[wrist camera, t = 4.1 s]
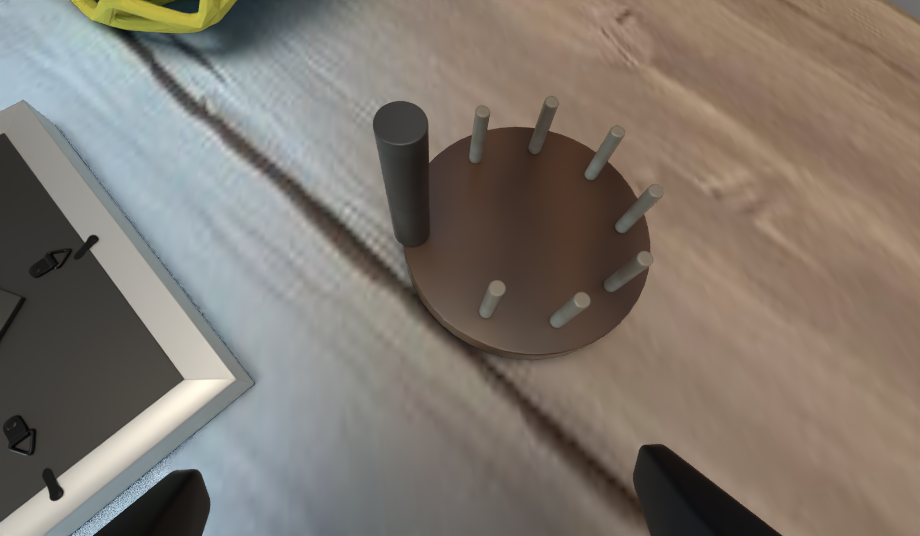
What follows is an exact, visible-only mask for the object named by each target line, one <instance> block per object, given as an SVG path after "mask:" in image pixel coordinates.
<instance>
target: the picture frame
mask: <svg viewBox="0 0 920 536" xmlns="http://www.w3.org/2000/svg"><path fill="white" fill-rule="evenodd" d="M252 385H254V382H253V381H252V379H251V378H250V377H249V375H248V374H247V373H246V371H245V370H244V369H243V368H242V366H241V365H240V364H239V362H238V361H237V360H236V359H235V357H234V356H233V355H232V353H231V352H230V351H229V349H228V348H227V347H226V346H225V344H224V343H223V342H222V340H221V339H220V338H219V337H218V335H217V334H216V333H215V331H214V330H213V329H212V328H211V326H210V325H209V324H208V322H207V321H206V320H205V318H204V317H203V316H202V315H201V313H200V312H199V311H198V309H197V308H196V307H195V306H194V304H193V303H192V302H191V300H190V299H189V298H188V296H187V295H186V294H185V293H184V291H183V290H182V289H181V287H180V286H179V285H178V284H177V282H176V281H175V280H174V278H173V277H172V276H171V275H170V273H169V272H168V271H167V269H166V268H165V267H164V265H163V264H162V263H161V262H160V260H159V259H158V258H157V256H156V255H155V254H154V253H153V251H152V250H151V249H150V247H149V246H148V245H147V243H146V242H145V241H144V240H143V238H142V237H141V236H140V234H139V233H138V232H137V231H136V229H135V228H134V227H133V225H132V224H131V223H130V222H129V220H128V219H127V218H126V216H125V215H124V214H123V212H122V211H121V210H120V209H119V207H118V206H117V205H116V203H115V202H114V201H113V200H112V198H111V197H110V196H109V194H108V193H107V192H106V190H105V189H104V188H103V187H102V185H101V184H100V183H99V181H98V180H97V179H96V178H95V176H94V175H93V174H92V172H91V171H90V170H89V168H88V167H87V166H86V165H85V163H84V162H83V161H82V159H81V158H80V157H79V156H78V154H77V153H76V152H75V150H74V149H73V148H72V147H71V145H70V144H69V143H68V141H67V140H66V139H65V137H64V136H63V135H62V134H61V132H60V131H59V130H58V128H57V127H56V126H55V125H54V123H52V122H51V121H50V120H49V119H47V118H46V117H45V116H43V115H42V114H41V113H40V112H38V111H37V110H36V109H35V108H33V107H32V106H31V105H30V104H28V103H27V102H26V101H25V100H22V101H20V102H18V103H16V104H14V105H12V106H10V107H8V108H6V109H4V110H2V111H0V536H70V535H71V534H72V533H73V532H75V531H76V530H77V529H78V528H80V527H81V526H82V525H83V524H84V523H86V522H87V521H88V520H89V519H90V518H92V517H93V516H94V515H95V514H97V513H98V512H99V511H100V510H101V509H103V508H104V507H105V506H106V505H108V504H109V503H110V502H111V501H112V500H114V499H115V498H116V497H117V496H119V495H120V494H121V493H122V492H123V491H125V490H126V489H127V488H128V487H129V486H131V485H132V484H133V483H134V482H136V481H137V480H138V479H139V478H140V477H142V476H143V475H144V474H145V473H147V472H148V471H149V470H150V469H151V468H153V467H154V466H155V465H156V464H157V463H159V462H160V461H161V460H162V459H164V458H165V457H166V456H167V455H168V454H170V453H171V452H172V451H173V450H175V449H176V448H177V447H178V446H179V445H181V444H182V443H183V442H184V441H185V440H187V439H188V438H189V437H190V436H192V435H193V434H194V433H195V432H196V431H198V430H199V429H200V428H201V427H203V426H204V425H205V424H206V423H207V422H209V421H210V420H211V419H212V418H214V417H215V416H216V415H217V414H218V413H220V412H221V411H222V410H223V409H224V408H226V407H227V406H228V405H229V404H231V403H232V402H233V401H234V400H235V399H237V398H238V397H239V396H240V395H242V394H243V393H244V392H245V391H246V390H248V389H249V388H250V387H251V386H252Z"/></svg>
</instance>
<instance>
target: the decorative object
mask: <svg viewBox="0 0 920 536" xmlns="http://www.w3.org/2000/svg"><path fill="white" fill-rule="evenodd" d="M71 1H72V2H73V3H74V4H75V5H76V6H77V7H78V8H79V9H80V10H81V11H82V12H83V13H84V14H85V15H86V16H87V17H88V18H89V19H90V20H93V21H96V22H99V23H103V24H106V25H109V26H112V27H116V28H120V29H124V30H133V31H144V32H162V33H196V32H199V31H202V30H205V29H206V28H207V27H210V26H212V25H214V24H216V23H218V22H219V21H220V20H221V19H222V18H223V17H224V16H225V14H226V13H227V12H228V11H229V10H230V9H231V7H232V6H233V5H234V4H235V2H236V1H237V0H200V4H199V11H198V13H191V14H189V13H182V12H179V11H175V10H172V9H168V8H165V7H161V5H164V4H167V3H170V2H173V1H175V0H99V2H96V1H94V0H71ZM134 15H137V16H134ZM138 16H140V17H138Z"/></svg>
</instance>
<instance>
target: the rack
mask: <svg viewBox="0 0 920 536" xmlns="http://www.w3.org/2000/svg"><path fill="white" fill-rule="evenodd" d="M558 105H559V101H558V99H557V98H556V97H554V96H549V97H547V98H546V99H545V101H544V104H543V107H542V109H541V112H540V115H539V118H538V121H537V124H536V127H535V128H526V127H507V128H497V129H492V130H487V127H488V122H489V117H490V110H489V108H488V107H486V106H479V107H477V109H476V110H475V117H474V125H473V132H472V135H471V136H468V137H466V138H464V139H461V140H459V141H458V142H456V143H454V144H452V145H451V146H449V147H448V148H446V149H445V150H444V151H442V152H441V153H440V154H438V155H437V156H436V157H435V158H434V159H433V160H432V161H431V162H430V163H429V141H428V119H427V117H426V115H425V113H424V112H423V110H422V109H421V108H419V107H418V106H417V105H415V104H412V103H409V102H405V101H396V102H391V103H388V104H386V105H384V106H383V107H381V108H380V109H379V110H378V112H377V113H376V115H375V117H374V120H373V129H374V134H375V139H376V144H377V149H378V154H379V159H380V164H381V169H382V174H383V179H384V184H385V189H386V194H387V199H388V204H389V209H390V214H391V219H392V224H393V229H394V234H395V237H396V239H397V240H398V241H399V242H400V243H401V244H402V245H403V248H404V254H405V259H406V264H407V268H408V272H409V275H410V278H411V280H412V283H413V286H414V288H415V290H416V291H417V293H418V295H419V297H420V299H421V301H422V302H423V303H424V305H425V306H426V307H427V309H428V310H429V312H430V313H431V314H432V315H433V316H434V317H435V318H436V319H437V320H438V321H439V322H440V323H441V325H443V326H444V327H445V328H446V329H447V330H449V331H450V332H451V333H452V334H454V335H455V336H457V337H458V338H460V339H461V340H463V341H465V342H466V343H468V344H470V345H472V346H474V347H476V348H479V349H481V350H483V351H485V352H489V353H492V354H495V355H499V356H502V357H509V358H515V359H534V360H536V359H545V358H553V357H557V356H561V355H565V354H568V353H571V352H573V351H576V350H578V349H581V348H583V347H585V346H587V345H589V344H591V343H593V342H594V341H596V340H598V339H600V338H601V337H603V336H605V335H606V334H607V333H609V332H610V331H611V330H612V329H614V328H615V327H616V326H617V325H619V324H620V322H621V321H622V320H623V319H624V318H625V317H626V316H627V315H628V314H629V312H630V311H631V309H632V308H633V306H634V305H635V303H636V302H637V300H638V298H639V296H640V294H641V292H642V290H643V287H644V285H645V281H646V278H647V274H648V270H649V266H650V265H651V264H652V263H653V257H652V255H651V254H650V238H649V232H648V226H647V223H646V219H645V216H644V214H645V213H646V212H647V211H648V210H649V209H650V208H651V207H652V206H653V205H654V204H655V203H656V202H657V201H658V200H659V199H660V198H661V197H662V196H663V194H664V190H663V188H662V187H661V186H660V185H658V184H653V185H651V186H649V188H648V189H647V190H646V191H645V192H644V193H643V194H642V195H641V196H640V197H639V199H637V197H636V196H635V194H634V192H633V191H632V189H631V187H630V186H629V185H628V183H627V182H626V181H625V179H624V178H623V177H622V175H621V174H620V173H619V172H618V171H617V170H616V169H615V168H614V167H613V166H612V165H611V164H610V163H609V162H608V159H609V158H610V156H611V155H612V153H613V152H614V150H615V149H616V147H617V146H618V144H619V143H620V141H621V140H622V138H623V137H624V135H625V130H624V128H623V127H621V126H619V125H616V126H613V127H612V128H611V130H610V131H609V133H608V134H607V136H606V138H605V139H604V141H603V143H602V144H601V146H600V148H599V149H598V151H597V153H596V152H595V151H593V150H592V149H590V148H589V147H587V146H585V145H583V144H581V143H579V142H577V141H575V140H574V139H571V138H568V137H566V136H563V135H561V134H558V133H554V132H550V131H548V130H549V128H550V125H551V123H552V120H553V118H554V115H555V113H556V110H557V108H558Z"/></svg>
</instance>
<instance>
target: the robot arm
mask: <svg viewBox="0 0 920 536" xmlns="http://www.w3.org/2000/svg"><path fill="white" fill-rule="evenodd" d="M633 483H634V487H635V490H636V493H637V496H638V499H639V502H640V505H641V508H642V511H643V514H644V517H645V520H646V523H647V526H648V529H649V532H650V535H651V536H782V535H781V534H779V533H778V532H777V531H776V530H774V529H773V528H772V527H770V526H769V525H768V524H766V523H765V522H764V521H763V520H761V519H760V518H759V517H757V516H756V515H755V514H753V513H752V512H751V511H750V510H748V509H747V508H746V507H744V506H743V505H742V504H740V503H739V502H738V501H737V500H735V499H734V498H733V497H731V496H730V495H729V494H728V493H726V492H725V491H724V490H722V489H721V488H720V487H718V486H717V485H716V484H715V483H713V482H712V481H711V480H709V479H708V478H707V477H705V476H704V475H703V474H702V473H700V472H699V471H698V470H696V469H695V468H694V467H692V466H691V465H690V464H689V463H687V462H686V461H685V460H683V459H682V458H681V457H679V456H678V455H677V454H676V453H674V452H673V451H672V450H670V449H669V448H668V447H666V446H664V445H662V444H651V445H643V446H642V447H641V448H640V450H639V453H638V457H637V461H636V465H635V469H634V473H633ZM209 511H210V497H209V495H208V492H207V489H206V486H205V483H204V480H203V477H202V475H201V473H200V472H199V471H198V470H196V469H188V470H176V471H173V472H171V473H169V474H168V475H167V476H165V477H164V478H163V479H162V480H161V481H159V482H158V483H157V484H156V485H154V486H153V487H152V488H151V489H150V490H148V491H147V492H146V493H145V494H143V495H142V496H141V497H140V498H139V499H137V500H136V501H135V502H134V503H132V504H131V505H130V506H129V507H127V508H126V509H125V510H124V511H123V512H121V513H120V514H119V515H118V516H116V517H115V518H114V519H113V520H112V521H110V522H109V523H108V524H107V525H105V526H104V527H103V528H102V529H101V530H99V531H98V532H97V533H96V534H94V535H93V536H202V534H203V531H204V528H205V525H206V522H207V518H208V515H209Z"/></svg>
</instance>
